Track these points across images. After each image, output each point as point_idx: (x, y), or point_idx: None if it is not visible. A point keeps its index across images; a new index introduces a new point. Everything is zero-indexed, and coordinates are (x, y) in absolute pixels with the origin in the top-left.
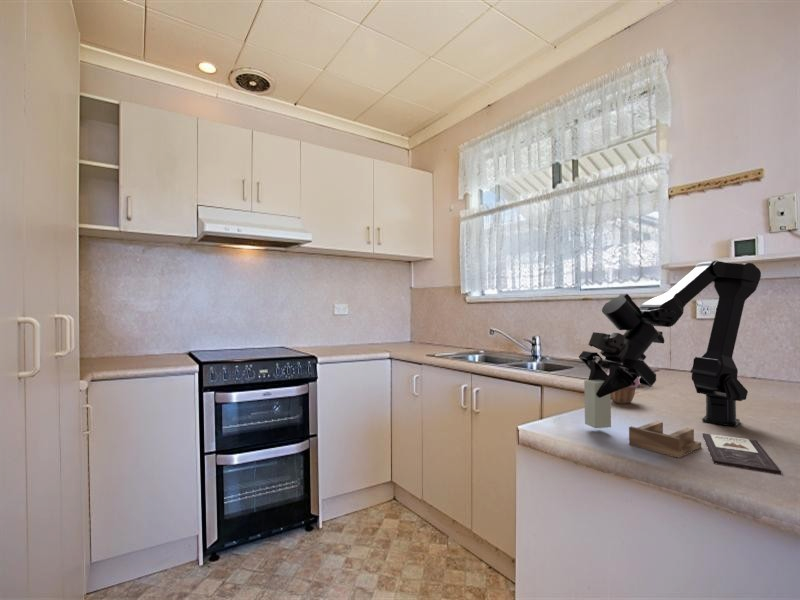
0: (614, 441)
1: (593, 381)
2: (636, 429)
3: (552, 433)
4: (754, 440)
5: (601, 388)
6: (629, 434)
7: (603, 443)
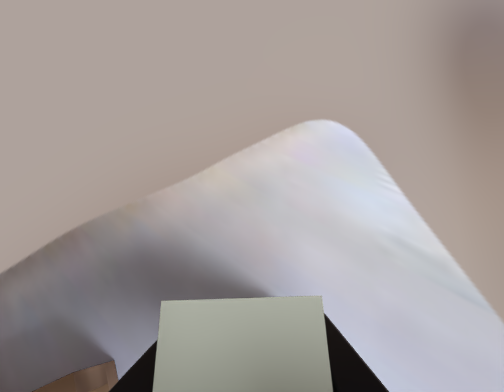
0: (155, 328)
1: (241, 354)
2: (43, 386)
3: (272, 174)
4: None
5: (145, 355)
6: (91, 367)
7: (151, 274)
